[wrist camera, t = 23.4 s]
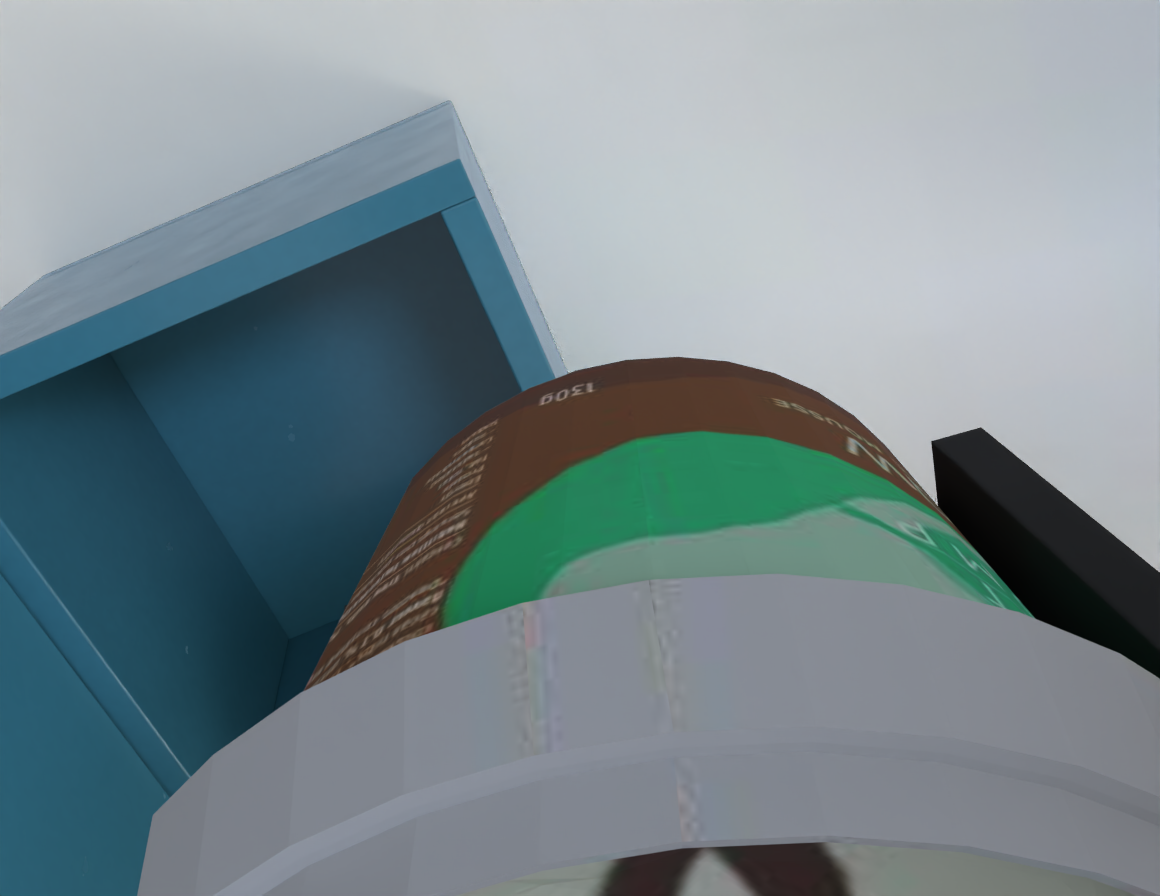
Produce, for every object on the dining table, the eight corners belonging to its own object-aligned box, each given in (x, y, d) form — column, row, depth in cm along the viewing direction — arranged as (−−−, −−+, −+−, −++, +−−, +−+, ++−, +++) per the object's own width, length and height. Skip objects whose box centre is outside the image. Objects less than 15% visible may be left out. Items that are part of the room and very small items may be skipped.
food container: (1171, 575, 18) (1816, 1244, 9) (902, 801, 20) (1198, 1537, 11) (586, 87, 14) (642, 360, 5) (330, 424, 16) (48, 1044, 7)
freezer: (450, 99, 38) (459, 158, 26) (626, 509, 46) (695, 698, 34) (42, 275, 39) (-127, 410, 27) (282, 651, 46) (232, 884, 35)
